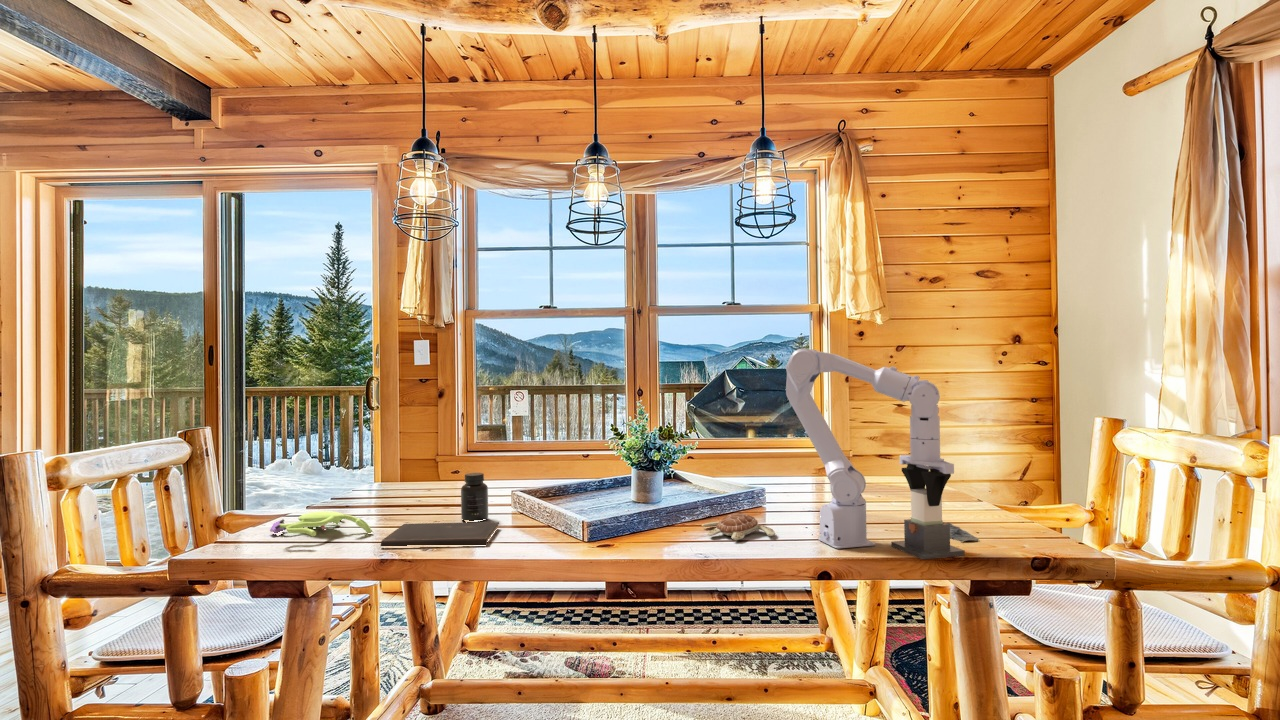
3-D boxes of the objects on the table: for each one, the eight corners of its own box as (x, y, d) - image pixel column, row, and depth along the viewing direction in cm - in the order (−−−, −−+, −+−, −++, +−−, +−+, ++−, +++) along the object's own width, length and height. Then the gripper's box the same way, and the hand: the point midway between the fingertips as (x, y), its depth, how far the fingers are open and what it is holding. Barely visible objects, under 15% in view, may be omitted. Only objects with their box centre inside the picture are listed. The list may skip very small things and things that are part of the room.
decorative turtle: (787, 532, 153) (787, 511, 153) (759, 548, 139) (759, 525, 139) (719, 522, 163) (719, 503, 163) (686, 537, 149) (686, 515, 149)
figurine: (293, 555, 139) (293, 529, 139) (260, 532, 158) (260, 510, 158) (379, 538, 152) (379, 515, 152) (339, 520, 171) (339, 499, 171)
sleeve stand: (922, 559, 129) (921, 529, 129) (891, 546, 138) (890, 518, 138) (964, 555, 131) (964, 525, 131) (931, 542, 141) (930, 515, 141)
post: (924, 535, 132) (923, 493, 132) (910, 529, 136) (910, 489, 136) (942, 533, 133) (942, 491, 133) (928, 528, 137) (927, 488, 138)
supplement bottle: (460, 518, 170) (460, 472, 170) (487, 516, 172) (486, 471, 172) (461, 524, 163) (461, 476, 164) (489, 521, 165) (488, 475, 166)
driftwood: (982, 545, 140) (981, 535, 140) (949, 545, 141) (949, 535, 141) (945, 524, 161) (945, 515, 161) (917, 523, 161) (917, 515, 162)
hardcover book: (404, 533, 157) (404, 523, 157) (499, 531, 158) (499, 521, 158) (380, 551, 141) (380, 541, 141) (486, 549, 142) (486, 538, 142)
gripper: (966, 441, 129) (967, 509, 129) (918, 434, 143) (919, 495, 143) (936, 442, 127) (937, 511, 127) (890, 435, 141) (891, 497, 141)
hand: (926, 503), depth 135 cm, fingers closed on post, 4 cm apart
